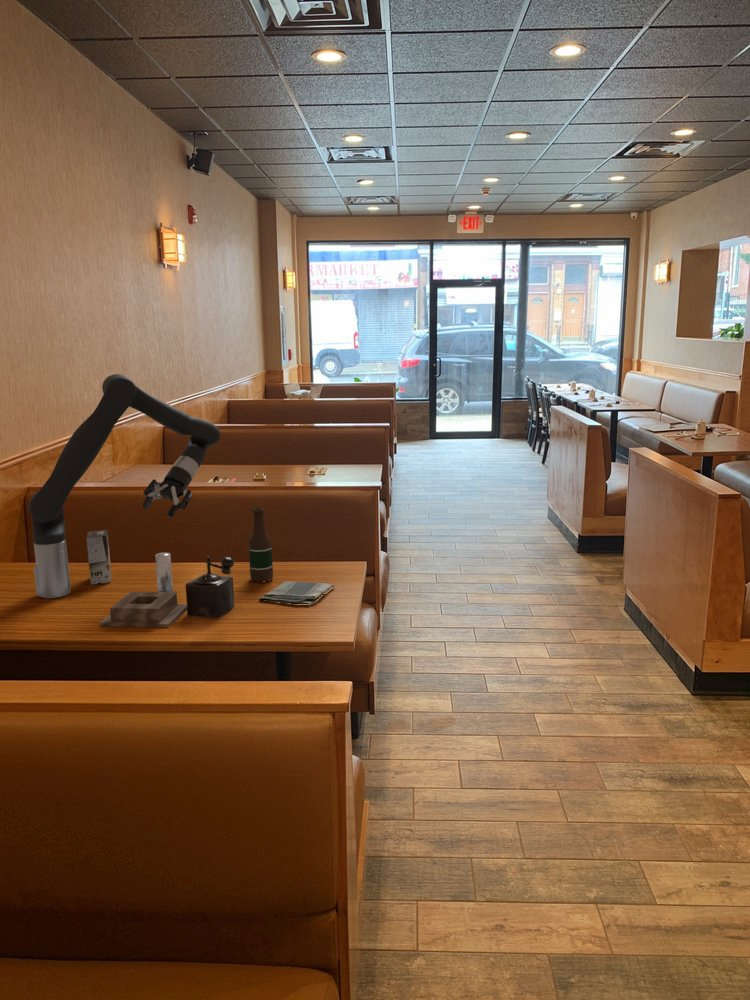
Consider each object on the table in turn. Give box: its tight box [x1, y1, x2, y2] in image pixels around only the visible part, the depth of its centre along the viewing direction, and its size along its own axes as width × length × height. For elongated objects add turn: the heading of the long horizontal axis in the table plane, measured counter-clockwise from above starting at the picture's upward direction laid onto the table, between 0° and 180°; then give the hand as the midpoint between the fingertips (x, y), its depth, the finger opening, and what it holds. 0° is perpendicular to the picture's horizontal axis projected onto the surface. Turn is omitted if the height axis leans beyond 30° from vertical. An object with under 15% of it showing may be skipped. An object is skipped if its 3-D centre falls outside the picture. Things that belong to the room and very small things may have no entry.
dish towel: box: [258, 580, 335, 606], centre depth 234 cm, size 19×18×3 cm
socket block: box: [99, 591, 187, 628], centre depth 218 cm, size 20×16×5 cm
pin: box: [154, 552, 174, 592], centre depth 232 cm, size 4×4×14 cm
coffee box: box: [85, 529, 112, 585], centre depth 252 cm, size 9×6×16 cm
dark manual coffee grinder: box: [185, 555, 235, 618], centre depth 219 cm, size 16×11×18 cm
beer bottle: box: [248, 507, 274, 583], centre depth 248 cm, size 8×8×24 cm
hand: (156, 512), depth 234 cm, fingers open, 8 cm apart
